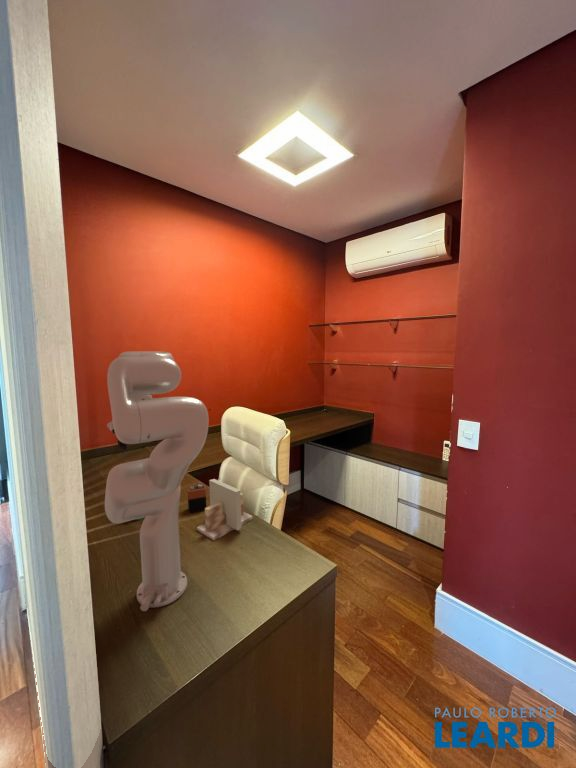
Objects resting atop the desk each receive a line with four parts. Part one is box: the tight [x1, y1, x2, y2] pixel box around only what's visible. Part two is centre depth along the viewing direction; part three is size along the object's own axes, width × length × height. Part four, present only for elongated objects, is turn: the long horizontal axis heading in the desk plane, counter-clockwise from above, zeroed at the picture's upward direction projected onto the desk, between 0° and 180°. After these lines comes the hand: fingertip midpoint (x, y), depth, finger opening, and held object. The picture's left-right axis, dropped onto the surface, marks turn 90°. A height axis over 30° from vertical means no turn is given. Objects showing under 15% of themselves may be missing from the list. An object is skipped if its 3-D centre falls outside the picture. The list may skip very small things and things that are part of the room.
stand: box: [196, 492, 254, 541], centre depth 115 cm, size 18×10×9 cm, turn 140°
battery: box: [186, 483, 207, 514], centre depth 126 cm, size 4×7×10 cm, turn 113°
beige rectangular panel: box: [208, 478, 242, 531], centre depth 114 cm, size 2×16×14 cm, turn 48°
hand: (138, 445), depth 99 cm, fingers open, 9 cm apart
